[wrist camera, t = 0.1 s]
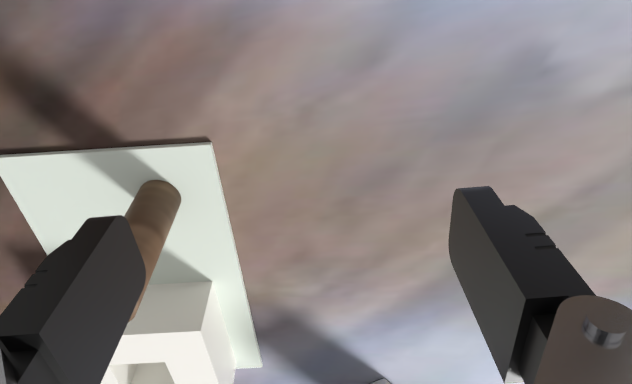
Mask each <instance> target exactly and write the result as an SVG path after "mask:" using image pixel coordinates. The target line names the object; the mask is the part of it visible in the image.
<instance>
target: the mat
mask: <svg viewBox="0 0 632 384" xmlns="http://www.w3.org/2000/svg"><path fill="white" fill-rule="evenodd" d="M0 176H1V178H2V179H3V181H4V183H5V184H6V186H7V188H8V189H9V191H10V193H11V195H12V196H13V198H14V200H15V201H16V203H17V205H18V206H19V208H20V210H21V212H22V213H23V215H24V217H25V218H26V220H27V222H28V223H29V225H30V227H31V229H32V230H33V232H34V234H35V235H36V237H37V239H38V240H39V242H40V244H41V245H42V247H43V249H44V251H45V252H46V254H47V256H48V255H49V254H50V253H51V252H53V251H54V250H55V249H57V248H58V247H59V246H61V245H62V244H63V243H65V242H66V241H67V240H71V239H72V238H73V237H74V235H75V234H76V233H77V231H78V230H79V229H80V227H81V226H82V225H83V223H84V222H85V221H86V220H87V219H88V218H92V217H104V216H116V215H122V216H125V214H126V212H127V210H128V208H129V207H130V205H131V203H132V201H133V200H134V198H135V196H136V194H137V192H138V191H139V189H140V187H141V186H142V185H143V184H144V183H145V182H147V181H150V180H162V181H166V182H168V183H170V184H172V185H173V186H174V187H175V188H176V189H177V190H178V191H179V193H180V195H181V204H180V207H179V209H178V212H177V214H176V216H175V219H174V221H173V224H172V226H171V229H170V231H169V234H168V236H167V239H166V241H165V244H164V246H163V249H162V251H161V254H160V256H159V259H158V261H157V263H156V266H155V268H154V271H153V273H152V276H151V278H150V281H149V283H148V285H152V284H170V283H188V282H206V281H213V284H214V288H215V291H216V295H217V298H218V302H219V305H220V308H221V312H222V315H223V319H224V322H225V326H226V329H227V332H228V336H229V339H230V343H231V346H232V350H233V353H234V357H235V360H236V369H242V368H261V367H262V365H263V363H262V359H261V355H260V350H259V346H258V342H257V337H256V333H255V329H254V324H253V320H252V316H251V311H250V307H249V302H248V298H247V294H246V289H245V285H244V281H243V276H242V272H241V268H240V263H239V259H238V255H237V250H236V246H235V241H234V237H233V233H232V228H231V224H230V220H229V215H228V211H227V207H226V202H225V198H224V194H223V189H222V185H221V181H220V176H219V172H218V167H217V163H216V159H215V154H214V150H213V146H212V142H201V143H185V144H169V145H153V146H137V147H121V148H105V149H89V150H73V151H56V152H40V153H24V154H8V155H0Z"/></svg>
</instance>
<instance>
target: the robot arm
mask: <svg viewBox="0 0 632 384" xmlns="http://www.w3.org/2000/svg"><path fill="white" fill-rule="evenodd" d="M545 233H546V232H545V231H544V230H543V229H542V227H541V226H540V225H539V224H538V222H537V221H536V220H535V218H534V217H532V216H531V215H529V214H528V213H526V212H524V211H523V210H521V209H520V208H518V207H517V206H515V205H509V206H504V204H503V203H502V202H501V200H500V199H499V198H498V196H497V195H496V193H495V192H494V191H493V189H492V188H491V187H489V186H484V187H472V188H459V189H456V190H455V192H454V196H453V204H452V213H451V223H450V232H449V254H450V259H451V262H452V265H453V268H454V270H455V272H456V275H457V277H458V279H459V281H460V284H461V286H462V288H463V291H464V293H465V295H466V297H467V300H468V302H469V304H470V306H471V309H472V311H473V313H474V316H475V318H476V320H477V322H478V325H479V327H480V329H481V332H482V334H483V336H484V338H485V341H486V343H487V345H488V347H489V350H490V352H491V354H492V357H493V359H494V361H495V363H496V366H497V368H498V370H499V372H500V375H501V377H502V379H503V382H504V384H506V383H521V382H524V383H525V384H632V310H631V309H629V308H628V307H626V306H624V305H622V304H620V303H618V302H615V301H613V300H610V299H606V298H603V297H598V296H596V295H595V294H594V293H593V291H592V290H591V289H590V288H589V286H588V285H587V284H586V283H585V281H584V280H583V279H582V278H581V276H580V275H579V274H578V273H577V271H576V270H575V269H574V268H573V266H572V265H571V264H570V262H569V261H568V260H567V259H566V257H565V256H564V255H563V254H562V252H561V251H560V250H559V249H558V248H556V245H555V244H554V242H553V241H552V240H551V239H550V237H549V236H548V235H546V234H545ZM145 280H146V269H145V264H144V261H143V258H142V256H141V253H140V251H139V248H138V246H137V243H136V240H135V238H134V235H133V233H132V230H131V228H130V225H129V223H128V221H127V219H126V218H125V217H124V216H122V215H116V216H104V217H92V218H88V219H87V220H86V221H85V222H84V223H83V225H82V226H81V227H80V229H79V230H78V231H77V233H76V234H75V235H74V237H73V238H72V239H71V240H67V241H66V242H65V243H63V244H62V245H61V246H59V247H58V248H57V249H55V250H54V251H53V252H51V253H50V254H49V255H48V256H47V257H46V258H45V260H44V261H43V262H42V263H41V265H40V266H39V267H38V268H37V270H36V274H33V275H32V276H31V277H30V279H29V280H28V281H27V282H26V284H25V288H22V289H21V290H20V291H19V292H18V294H17V295H16V296H15V297H14V299H13V300H12V301H11V303H10V304H9V305H8V306H7V308H6V309H5V310H4V311H3V313H2V314H1V315H0V384H101V381H102V379H103V377H104V375H105V373H106V370H107V368H108V366H109V364H110V362H111V359H112V357H113V355H114V353H115V350H116V348H117V346H118V344H119V342H120V339H121V337H122V335H123V333H124V331H125V328H126V326H127V324H128V322H129V319H130V317H131V315H132V313H133V311H134V308H135V306H136V304H137V302H138V300H139V297H140V295H141V293H142V291H143V288H144V285H145Z"/></svg>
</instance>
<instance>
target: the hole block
mask: <svg viewBox="0 0 632 384" xmlns="http://www.w3.org/2000/svg"><path fill="white" fill-rule="evenodd" d="M235 369H236V360H235V357H234V353H233V350H232V346H231V343H230V339H229V336H228V332H227V329H226V326H225V322H224V319H223V315H222V312H221V308H220V305H219V302H218V298H217V295H216V291H215V288H214V284H213V281H206V282H188V283H170V284H152V285H148V286H147V288H146V291H145V293H144V296H143V298H142V301H141V303H140V306H139V308H138V310H137V313H136V315H135V317H134V318H133V319H132V320H131V321H130V322H128V324H127V326H126V328H125V331H124V333H123V335H122V337H121V339H120V342H119V344H118V346H117V348H116V350H115V353H114V355H113V357H112V359H111V362H110V364H109V366H108V368H107V370H106V373H105V375H104V377H103V379H102V381H101V384H233V383H234V376H235Z"/></svg>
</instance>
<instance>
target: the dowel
mask: <svg viewBox="0 0 632 384" xmlns="http://www.w3.org/2000/svg"><path fill="white" fill-rule="evenodd" d="M180 204H181V195H180V193H179V191H178V190H177V189H176V188H175V187H174V186H173V185H172V184H170V183H168V182H166V181H162V180H150V181H147V182H145V183H144V184H143V185H142V186H141V187H140V189H139V191H138V192H137V194H136V196H135V198H134V200H133V201H132V203H131V205H130V207H129V208H128V210H127V212H126V214H125V216H124V217H125V218H126V219H127V221H128V223H129V225H130V228H131V230H132V233H133V235H134V238H135V240H136V243H137V246H138V248H139V251H140V253H141V256H142V258H143V261H144V264H145V269H146V280H145V285H144V288H143V291H142V293H141V295H140V297H139V300H138V302H137V304H136V306H135V308H134V311H133V313H132V315H131V317H130V319H129V322H130V321H131V320H132V319H133V318H134V317H135V315H136V313H137V310H138V308H139V306H140V303H141V301H142V298H143V296H144V293H145V291H146V288H147V286H148V283H149V281H150V278H151V276H152V273H153V271H154V268H155V266H156V263H157V261H158V259H159V256H160V254H161V251H162V249H163V246H164V244H165V241H166V239H167V236H168V234H169V231H170V229H171V226H172V224H173V221H174V219H175V216H176V214H177V212H178V209H179V207H180Z"/></svg>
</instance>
